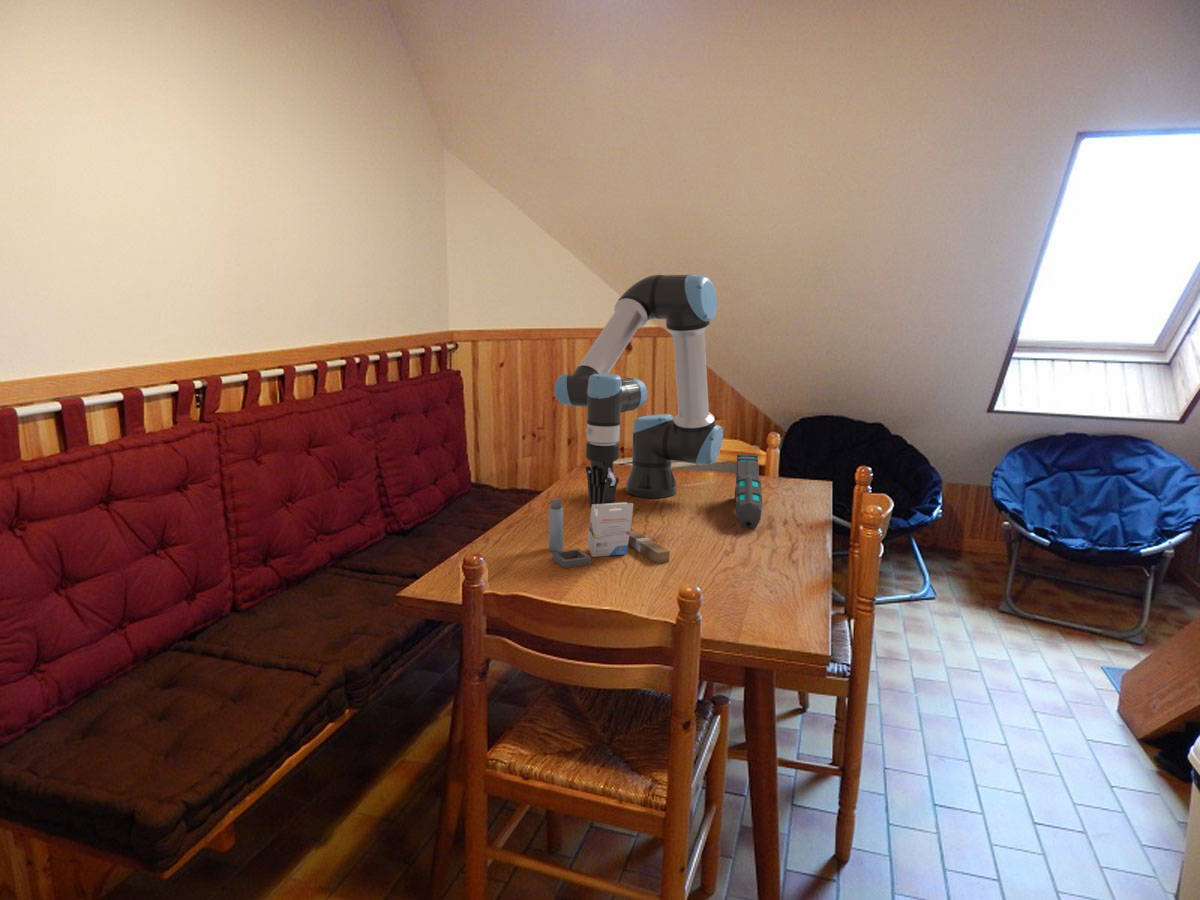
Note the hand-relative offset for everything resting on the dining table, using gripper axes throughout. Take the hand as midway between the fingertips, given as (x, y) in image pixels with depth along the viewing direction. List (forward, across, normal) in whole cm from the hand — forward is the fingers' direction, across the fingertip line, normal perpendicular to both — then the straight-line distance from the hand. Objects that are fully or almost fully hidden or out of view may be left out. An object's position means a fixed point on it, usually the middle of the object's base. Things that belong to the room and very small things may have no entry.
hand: (599, 540), depth 180 cm
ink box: (+1, +3, 0) cm, 3 cm away
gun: (+2, -10, +50) cm, 51 cm away
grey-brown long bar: (+2, +2, +9) cm, 10 cm away
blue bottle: (+2, -4, -9) cm, 10 cm away
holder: (+2, +5, -9) cm, 11 cm away
